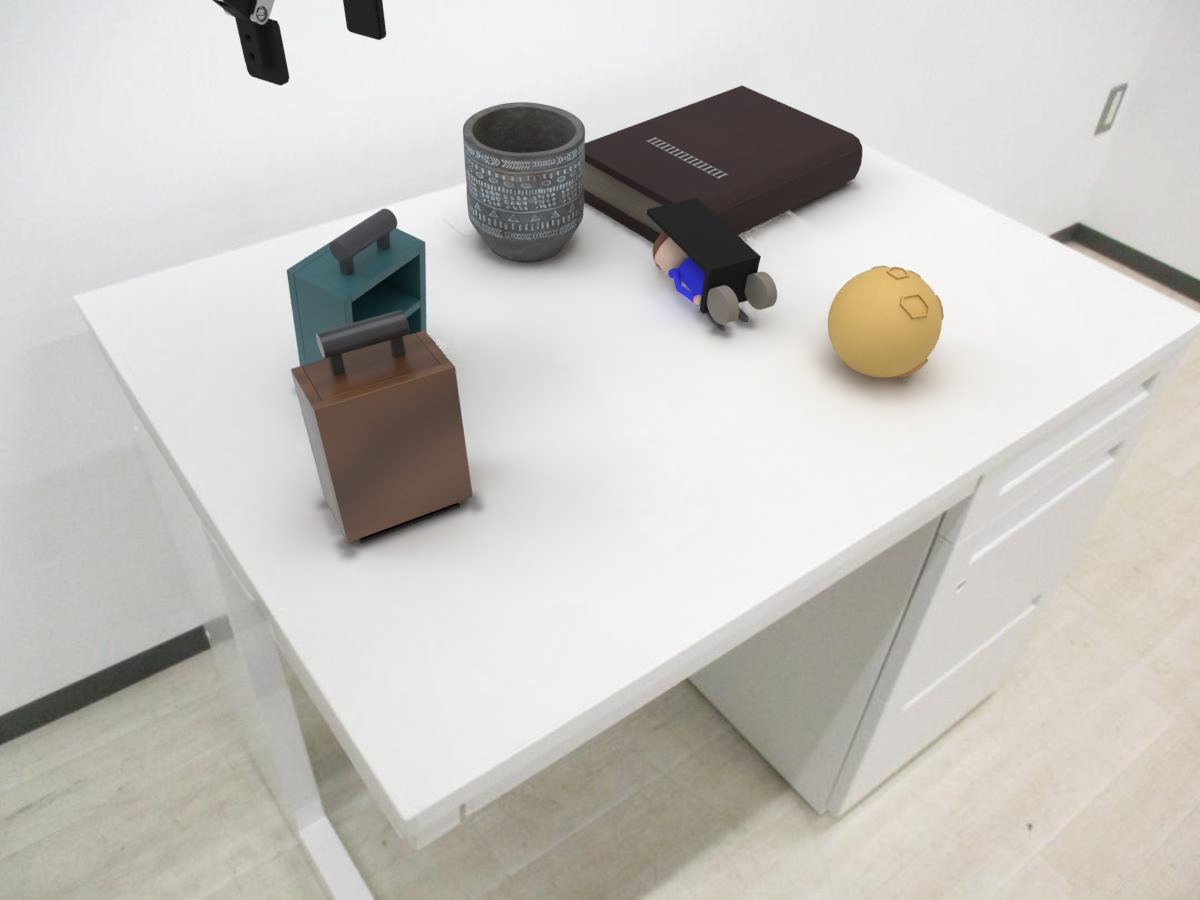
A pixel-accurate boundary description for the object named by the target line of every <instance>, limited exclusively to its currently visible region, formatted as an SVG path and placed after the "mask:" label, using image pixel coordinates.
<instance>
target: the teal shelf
mask: <svg viewBox="0 0 1200 900" xmlns="http://www.w3.org/2000/svg"><path fill="white" fill-rule="evenodd" d="M397 227H398V218H397V216H396V215H395V213H394V212H393V211H392V210H390V209H388V208H381V209H380V210H378V211H376V212H375V213H373V214H372V215H370V216H368V217H367V218H365V219H364V220H361V222H359V223H357V224H356V225H354V226H353V227H351V228H350V229H348V230H347V231H345V232H344V233H341V234H340V235H338V236H337V237H335V238H334V239H333V240H331V241H330V242H328V243H327V244H325V245H323V246H322V247H320V248H318V249H316V250H315V251H314V252H312V253H310V254H309V255H307V256H306V257H305V258H303V259H301V260H300V261H298V262H296V263H295V264H294V265H292V266H290V267H288V268H287V269H286V276H287V283H288V290H289V298H290V305H291V312H292V319H293V326H294V332H295V333H294V334H295V340H296V347H297V355H298V361H299V366H302V365H305V364H309V363H312V362H316V361H319V360H323V359H325V358H324V357H323V356H322V354H321V352H320V349H319V346H318V343H317V339H316V333H318V332H322V331H325V330H329V329H332V328H336V327H340V326H343V325H347V324H351V323H354V322H358V321H361V320H365V319H369V318H372V317H376V316H380V315H383V314H387V313H390V312H394V311H398V310H402V311H403V313H404V314H405V316H406V319H407V322H408V326H409V334H413V333H417V332H421V331H426V332H427V331H428V330H427V263H426V260H427V259H426V258H427V257H426V255H427V254H426V251H427V250H426V241H424V240H422V239H421V238H418V237H416V236H414V235H412V234H410V233H407V232H405V231H404V230H401V229H400V228H397ZM427 333H428V332H427ZM409 334H408V335H409ZM388 341H389V340H388ZM381 343H382V342H381ZM374 345H375V344H374ZM367 347H368V346H367Z"/></svg>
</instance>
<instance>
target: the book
mask: <svg viewBox="0 0 1200 900" xmlns="http://www.w3.org/2000/svg"><path fill="white" fill-rule="evenodd" d="M862 162H863V145H862V143H861V140H860V138H858V137H857V136H856V135H855V134H853V133H851V132H849V131H847V130H845V129H843V128H840V127H838V126H836V125H833V124H832V123H829V122H827V121H825V120H822V119H820V118H817V117H816V116H813V115H811V114H808V113H807V112H804V111H802V110H799V109H797V108H795V107H792V106H790V105H788V104H786V103H783V102H781V101H779V100H777V99H774V98H772V97H770V96H767V95H765V94H763V93H761V92H759V91H756V90H754V89H752V88H749V87H747V86H744V85H738V86H736V87H734V88H731V89H728V90H725V91H723V92H720V93H718V94H716V95H712V96H710V97H706V98H703V99H702V100H698V101H696V102H692V103H690V104H688V105H685V106H683V107H679V108H676V109H673V110H671V111H668V112H666V113H663V114H660V115H657V116H654V117H652V118H650V119H649V118H648V119H646V120H644V121H642V122H639V123H636V124H633V125H630V126H628V127H625V128H622V129H619V130H617V131H614V132H612V133H609V134H606V135H603V136H601V137H598V138H595V139H593V140H592V139H591V140H590V141H587V142H585V170H584V204H587V205H589V206H591V207H592V208H593V209H595V210H597V211H598V212H601V214H604V215H605V216H607V217H609V218H610V219H612V220H614V221H616V222H617V223H619V224H620V225H622V226H624V227H625V228H627V229H629V230H631V231H632V232H633V233H635V234H637V235H639V236H641V237H642V238H643V239H645V240H647V241H649V242H650V243H652V244H654V243H655V241H656V239H657V238H658V237H659V236H660V235H661V234H662V233H663V232H664V231H663V230H662V229H661V228H660V227H659V226H658V225H657V224H656V223H655V222H654V221H653V220H652V219H651V218H650V217H649V216H648V215H647V209H651V208H655V207H659V206H664V205H668V204H672V203H676V202H681V201H685V200H689V199H693V198H698V199H699V200H700V201H701V202H702V203H703V204H704V205H705V206H706V207H708V208H709V209H710V210H711V211H712V212H713V213H714V214H715V215H716V216H717V217H718V218H720V219H721V220H722V221H723V222H724V223H725V224H726V225H727V226H728V227H729V228H730V229H731V230H733V231H734V232H735V233H736V234H737V235H738V236H739V235H741V234H744V233H746V232H748V231H750V230H752V229H754V228H755V227H758V226H760V225H762V224H764V223H767V222H768V221H770V220H772V219H775V218H777V217H779V216H781V215H782V214H783V215H784V214H785V213H787V212H789V211H791V210H793V209H795V208H797V207H799V206H801V205H803V204H805V203H808V202H810V201H812V200H814V199H816V198H819V197H820V196H823V195H825V194H827V193H829V192H831V191H832V190H834V189H837V188H839V187H841V186H843V185H845V184H847V183H849V182H851V181H853V180H855V179H856V177H857V175H858V173H859V171H860V169H861V166H862Z"/></svg>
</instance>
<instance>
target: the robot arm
mask: <svg viewBox="0 0 1200 900" xmlns="http://www.w3.org/2000/svg"><path fill="white" fill-rule="evenodd" d="M212 2H214V3H215V4H217V5H218V6H219V7H220V8H222V9H223V12H224V14H225V15H227V16H230V17H233V18H234V19H235V24H236V28H237V33H238V37H239V42H240V46H241V50H242V51H241V52H242V55H243V59H244V63H245V67H246V70H247V73H248V74H249V76H250V77H252V78H255V79H258V80H261V81H264V82H268V83H271V84H274V85H277V86H280V87H281V86H284V85H286V84H288V83H289V82H290V81H289V80H290V73H289V68H288V62H287V57H286V53H285V47H284V41H283V35H282V31H281V26H280V24H279V21H278V20H275V19H272V18H270V15H271V13H272V9H273V6H274V3H275V0H212ZM342 4H343V9H344V18H345V25H346V29H347V31H348V32H350V33H352V34H355V35H359V36H363V37H366V38H370V39H374V40H377V41H381V40H383V39H385V38H386V37H387V28H386V19H385V18H386V17H385V11H384V2H383V0H342Z"/></svg>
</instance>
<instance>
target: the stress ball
mask: <svg viewBox="0 0 1200 900" xmlns="http://www.w3.org/2000/svg"><path fill="white" fill-rule="evenodd" d="M827 315H828V316H827V332H828V338H829V341H830V344H831V346H832V349H833V350H834V352H835V354H836V355H837V357H838V358H839V359H840V360H841V361H842V362H843V363H844V364H845V365H846V366H848V367H849V368H850V369H852V370H853V371H854V372H857V373H860V374H861V375H865V376H867V377H873V378H884V379H885V378H893V377H897V379H901V378H905V377H908V376H910V375H912V374H914V373H916V372H917V371H919V370H920V369H921V368H923V367H924V366H925V365H926V364H927V363H928V362H929V356H930V355H931V354H932V352H933V351H934V349H935V348H936V345H937V344H938V342H939V340H940V335H941V332H942V327H943V320H944V317H945V316H944V315H945V314H944V308H943V304H942V301H941V298H940V297H939V295H938V294H936V293H935V292H934V290H933V289H932V286H930V285H929V284H928V283H927V282H926V281H925V280H924V279H923V278H922V276H921V275H920V274H919V273H917V272H915V271H914V270H909V269H908V270H907V269H905V268H904V267H899V266H887V265H878V266H877V265H876V266H874V267H871V268H870V269H867V270H865V271H862V272H860V273H858V274H856V275H855V276H853V277H851V278H850V279H849V280H848V281H847V282H846V283H844V284H843V286H842V287H841V288H840V289H839V290H838V292H837V293H836V294H835V296H834V298H833V300H832V302H831V304H830V307H829V310H828V314H827Z"/></svg>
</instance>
